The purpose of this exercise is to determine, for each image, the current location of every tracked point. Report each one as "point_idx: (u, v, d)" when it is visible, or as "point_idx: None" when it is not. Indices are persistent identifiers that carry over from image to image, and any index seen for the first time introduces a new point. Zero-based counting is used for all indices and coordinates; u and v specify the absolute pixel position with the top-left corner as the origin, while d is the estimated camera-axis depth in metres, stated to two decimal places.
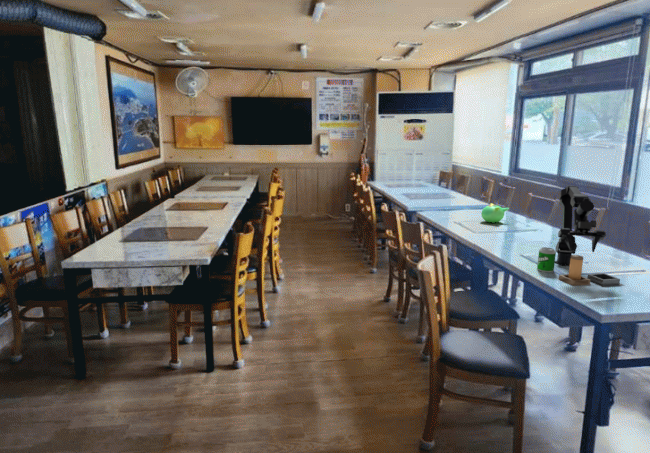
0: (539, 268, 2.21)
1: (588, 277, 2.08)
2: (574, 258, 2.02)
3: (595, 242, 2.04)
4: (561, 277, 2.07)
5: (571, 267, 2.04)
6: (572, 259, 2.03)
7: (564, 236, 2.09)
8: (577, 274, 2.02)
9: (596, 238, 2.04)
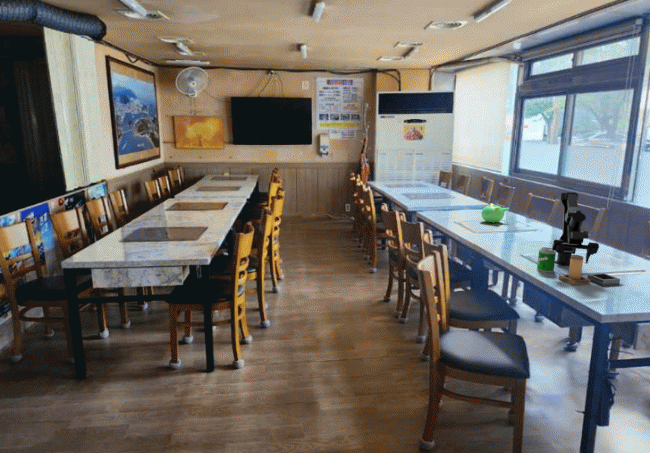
0: (539, 268, 2.21)
1: (588, 277, 2.08)
2: (574, 258, 2.02)
3: (588, 253, 2.05)
4: (561, 277, 2.07)
5: (571, 267, 2.04)
6: (572, 259, 2.03)
7: (557, 247, 2.11)
8: (577, 274, 2.02)
9: (589, 249, 2.06)
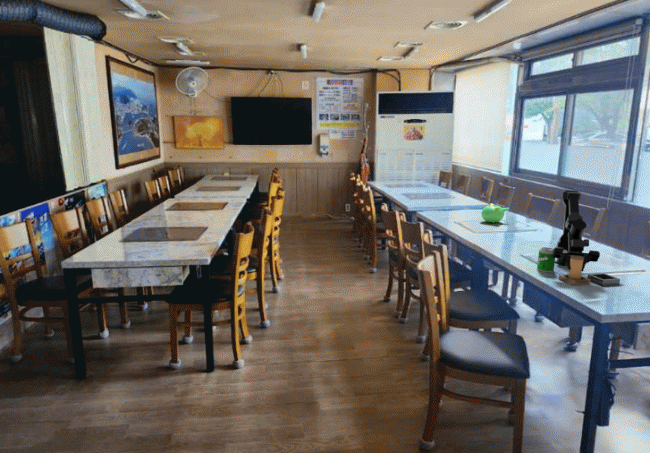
0: (539, 268, 2.21)
1: (588, 277, 2.08)
2: (574, 258, 2.02)
3: (584, 261, 2.03)
4: (561, 277, 2.07)
5: (571, 267, 2.04)
6: (572, 259, 2.03)
7: (562, 256, 2.08)
8: (577, 274, 2.02)
9: (585, 257, 2.03)
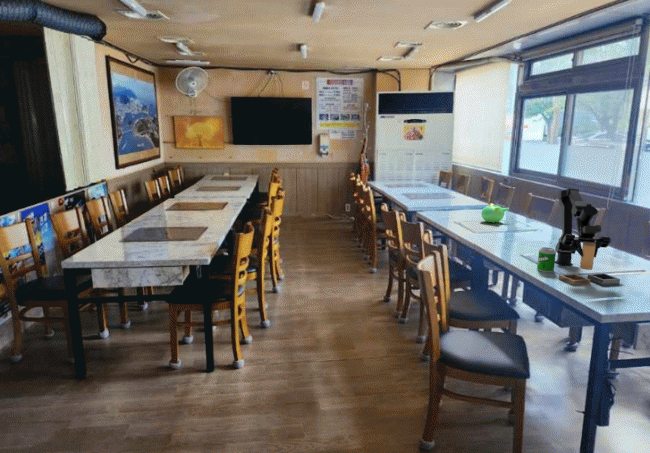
0: (539, 268, 2.21)
1: (588, 277, 2.08)
2: (587, 244, 2.00)
3: (596, 247, 2.02)
4: (561, 277, 2.07)
5: (584, 254, 2.01)
6: (585, 245, 2.01)
7: (574, 242, 2.05)
8: (590, 261, 2.01)
9: (597, 243, 2.02)
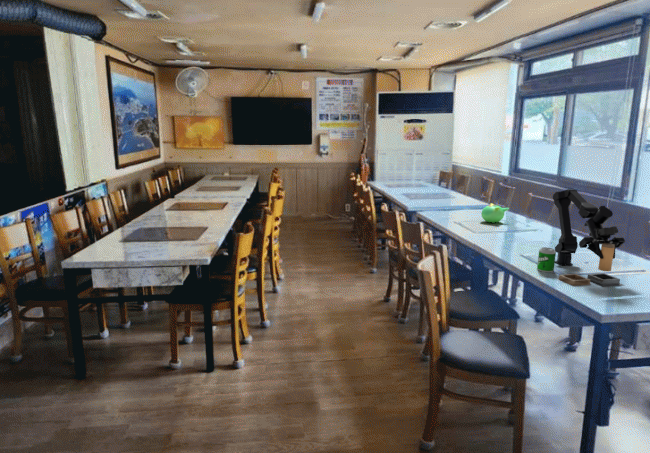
0: (539, 268, 2.21)
1: (588, 277, 2.08)
2: (608, 246, 2.00)
3: None
4: (561, 277, 2.07)
5: (604, 256, 2.02)
6: (605, 247, 2.01)
7: (592, 245, 2.05)
8: (610, 262, 2.01)
9: (614, 244, 2.04)
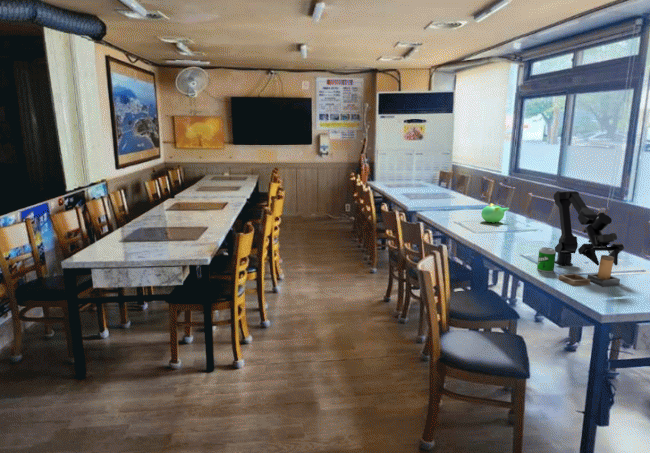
0: (539, 268, 2.21)
1: (588, 277, 2.08)
2: (607, 259, 2.01)
3: (616, 255, 2.04)
4: (561, 277, 2.07)
5: (603, 268, 2.03)
6: (604, 260, 2.02)
7: (588, 251, 2.05)
8: (609, 275, 2.02)
9: (616, 251, 2.04)
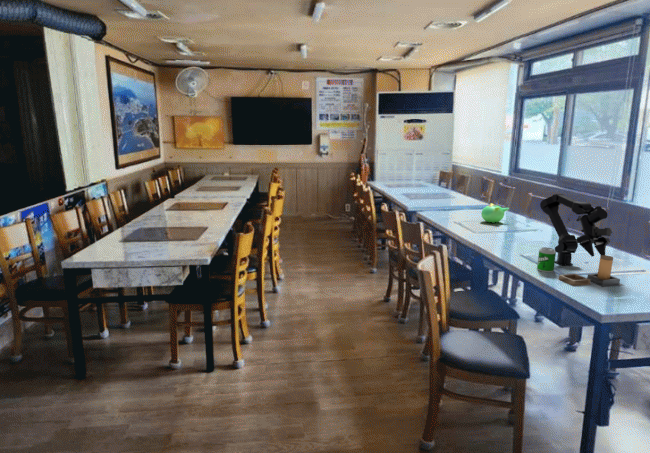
0: (539, 268, 2.21)
1: (588, 277, 2.08)
2: (606, 259, 2.01)
3: (604, 248, 2.17)
4: (561, 277, 2.07)
5: (602, 268, 2.03)
6: (604, 260, 2.02)
7: (587, 242, 2.12)
8: (609, 275, 2.03)
9: (605, 244, 2.17)
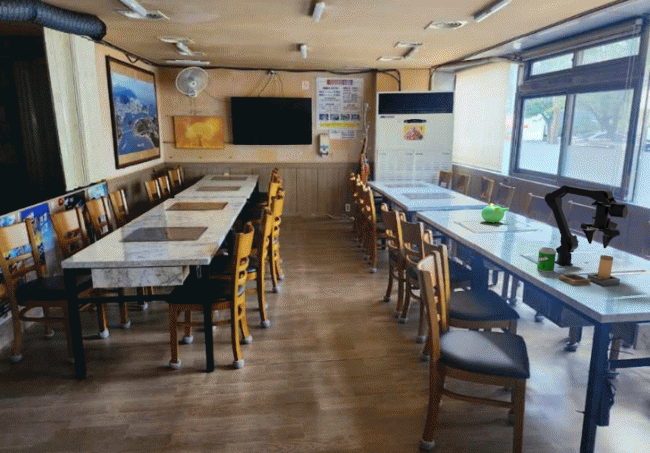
0: (539, 268, 2.21)
1: (588, 277, 2.08)
2: (606, 259, 2.01)
3: None
4: (561, 277, 2.07)
5: (602, 268, 2.03)
6: (604, 260, 2.02)
7: None
8: (609, 275, 2.03)
9: None
